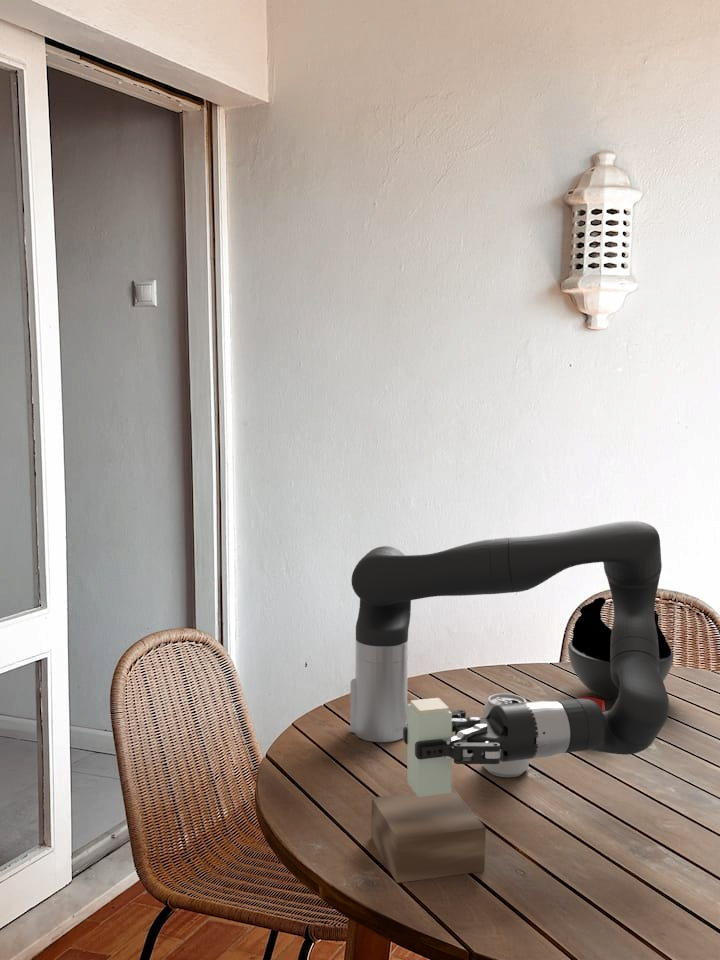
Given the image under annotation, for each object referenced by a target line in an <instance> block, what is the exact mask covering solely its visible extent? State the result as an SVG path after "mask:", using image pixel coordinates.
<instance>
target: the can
mask: <svg viewBox="0 0 720 960" xmlns="http://www.w3.org/2000/svg"><path fill="white" fill-rule="evenodd" d="M522 702H528V701H527V699H526V698H525V697H523V696H520V695H518V694H513V693H495V694H491V695H490V696H488V697H487V703H485V704H484V705H483V707H482V708H483V713H482V714H483V715H482V716H483V717H482V718H486V717H487V716H488V714H489V713H490V710H491V708H492V707H493V706H495V705H503V704H512V703H522ZM529 763H530V759H525V760H516V761H508V762H502V761H500V763H499V764H482V766H483V767H484V768H485V770H487V772H489V774H492V775H493V776H497V777H502V778H515V777H519V776H521V775H522V774H524V772H526V771H527V770H528V768H529Z"/></svg>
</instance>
